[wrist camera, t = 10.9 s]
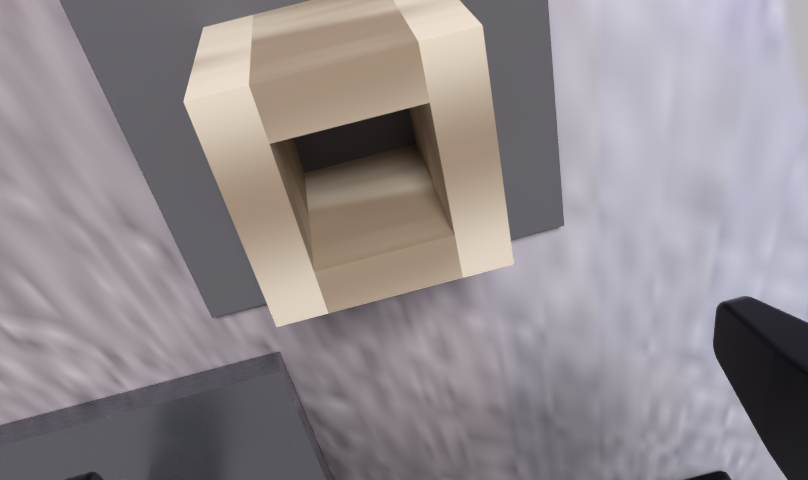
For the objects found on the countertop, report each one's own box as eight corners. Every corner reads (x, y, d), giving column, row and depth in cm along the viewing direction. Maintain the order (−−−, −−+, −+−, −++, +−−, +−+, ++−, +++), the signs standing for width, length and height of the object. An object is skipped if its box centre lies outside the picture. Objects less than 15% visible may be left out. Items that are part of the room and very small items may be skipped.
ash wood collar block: (465, 170, 21) (513, 264, 17) (274, 220, 21) (276, 327, 17) (431, -31, 17) (482, 25, 13) (202, 27, 17) (183, 101, 13)
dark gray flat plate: (559, 219, 23) (564, 225, 23) (212, 310, 23) (212, 318, 22) (528, -195, 16) (533, -195, 16) (30, -73, 16) (25, -70, 15)
